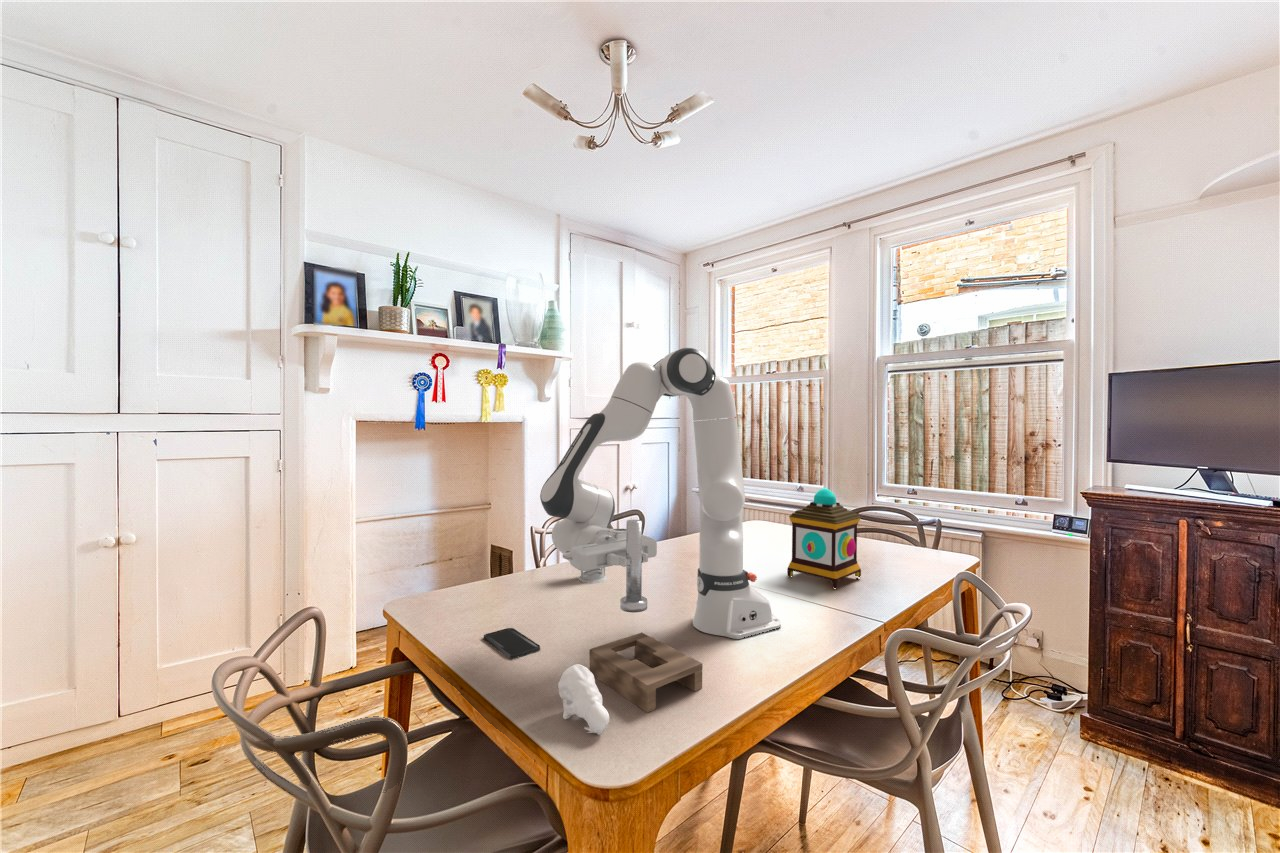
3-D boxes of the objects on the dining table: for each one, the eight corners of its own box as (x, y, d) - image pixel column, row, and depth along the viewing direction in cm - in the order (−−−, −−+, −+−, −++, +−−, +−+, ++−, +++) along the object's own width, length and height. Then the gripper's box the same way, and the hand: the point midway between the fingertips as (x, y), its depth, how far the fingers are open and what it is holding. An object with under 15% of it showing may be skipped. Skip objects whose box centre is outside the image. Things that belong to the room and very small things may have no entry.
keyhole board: (589, 672, 112) (589, 649, 111) (641, 654, 120) (641, 632, 120) (647, 712, 97) (647, 685, 97) (702, 688, 106) (702, 663, 105)
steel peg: (642, 601, 115) (642, 517, 114) (651, 610, 109) (651, 522, 109) (617, 604, 113) (617, 519, 112) (624, 613, 108) (625, 524, 107)
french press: (577, 574, 180) (578, 500, 180) (612, 573, 182) (612, 500, 181) (577, 583, 171) (577, 505, 170) (614, 582, 172) (614, 505, 171)
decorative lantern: (781, 577, 178) (781, 487, 177) (811, 566, 192) (812, 482, 191) (838, 592, 163) (839, 494, 163) (867, 579, 177) (868, 488, 176)
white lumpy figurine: (586, 656, 100) (621, 689, 90) (584, 699, 101) (618, 736, 91) (555, 665, 96) (589, 700, 87) (553, 709, 97) (586, 749, 87)
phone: (511, 627, 134) (542, 647, 122) (511, 631, 134) (542, 651, 122) (481, 635, 129) (510, 656, 117) (481, 639, 129) (510, 661, 117)
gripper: (558, 540, 114) (594, 553, 104) (633, 527, 127) (673, 538, 116) (558, 569, 115) (594, 585, 104) (633, 554, 127) (672, 567, 117)
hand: (636, 560), depth 110 cm, fingers closed on steel peg, 3 cm apart
